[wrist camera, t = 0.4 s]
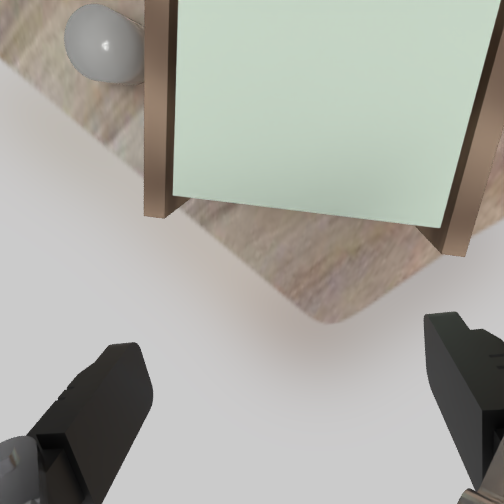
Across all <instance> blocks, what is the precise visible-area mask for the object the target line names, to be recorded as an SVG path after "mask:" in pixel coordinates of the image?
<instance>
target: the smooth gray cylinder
mask: <svg viewBox="0 0 504 504" xmlns="http://www.w3.org/2000/svg"><path fill="white" fill-rule="evenodd" d="M144 38H145V28H144V27H143V26H142V25H140V24H139V23H137V22H135V21H133V20H131V19H129V18H127V17H125V16H123V15H121V14H119V13H117V12H116V11H114V10H112V9H110V8H108V7H106V6H103V5H99V4H89V5H85V6H82V7H80V8H79V9H77V10H76V11H75V12H74V13H73V14H72V15H71V17H70V18H69V20H68V22H67V25H66V29H65V35H64V41H65V48H66V52H67V55H68V57H69V59H70V61H71V63H72V64H73V66H74V67H75V68H76V69H77V70H78V71H79V72H80V73H81V74H82V75H84V76H85V77H87V78H89V79H92V80H95V81H101V82H109V83H116V84H123V85H137V84H140V83H143V82H144Z"/></svg>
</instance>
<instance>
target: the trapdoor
mask: <svg viewBox="0 0 504 504" xmlns="http://www.w3.org/2000/svg"><path fill="white" fill-rule="evenodd" d="M500 2H501V0H178V31H177V66H176V101H175V136H174V171H173V196H181V197H189V198H198V199H206V200H214V201H222V202H230V203H238V204H246V205H255V206H263V207H271V208H279V209H287V210H295V211H303V212H312V213H320V214H328V215H336V216H344V217H352V218H360V219H369V220H377V221H385V222H393V223H401V224H409V225H417V226H425V227H434V228H440V227H441V223H442V220H443V216H444V212H445V208H446V205H447V201H448V197H449V193H450V189H451V186H452V182H453V178H454V174H455V171H456V167H457V163H458V159H459V156H460V152H461V148H462V144H463V141H464V137H465V133H466V129H467V126H468V122H469V118H470V114H471V111H472V107H473V103H474V99H475V96H476V92H477V88H478V84H479V81H480V77H481V73H482V69H483V65H484V62H485V58H486V54H487V50H488V47H489V43H490V39H491V35H492V32H493V28H494V24H495V20H496V17H497V13H498V9H499V5H500Z"/></svg>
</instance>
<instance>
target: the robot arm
mask: <svg viewBox="0 0 504 504" xmlns="http://www.w3.org/2000/svg"><path fill="white" fill-rule="evenodd" d="M424 336H425V355H426V369H427V375H428V380H429V384H430V387H431V390H432V393H433V395H434V397H435V399H436V401H437V404H438V406H439V408H440V411H441V413H442V415H443V418H444V420H445V422H446V425H447V427H448V429H449V431H450V434H451V436H452V438H453V441H454V443H455V445H456V447H457V450H458V452H459V454H460V456H461V459H462V461H463V463H464V466H465V468H466V470H467V473H468V475H469V477H470V479H471V482H472V484H473V486H474V489H475V491H474V490H472V489H467V490H465V491H464V493H463V494H462V496H461V498H460V499H459V501H458V503H457V504H504V342H503V341H502V340H501V339H499V338H498V337H496V336H494V335H493V334H491V333H489V332H487V331H486V330H484V329H476V330H470V329H469V328H468V327H467V325H466V324H465V322H464V321H463V320H462V318H461V317H460V316H459V314H458V313H457V312H445V313H435V314H426V315H425V316H424ZM152 402H153V388H152V384H151V381H150V377H149V374H148V371H147V368H146V365H145V362H144V358H143V355H142V352H141V349H140V347H139V345H138V344H137V343H135V342H132V343H122V344H112V345H109V346H108V347H107V348H106V349H105V350H104V352H103V353H102V354H101V355H100V356H99V358H98V359H97V360H96V361H95V363H93V364H91V365H90V366H89V367H87V368H86V369H85V370H83V371H82V372H81V373H79V374H78V375H77V376H76V377H75V378H74V380H73V381H72V382H71V383H70V384H69V385H68V387H67V390H64V391H63V393H62V394H61V395H60V396H59V397H58V400H57V401H55V402H54V403H53V404H52V406H51V407H50V408H49V409H48V410H47V411H46V413H45V414H44V415H43V416H42V417H41V418H40V420H39V421H38V422H37V423H36V424H35V426H34V427H33V428H32V429H31V430H30V431H29V433H28V434H27V435H26V436H18V437H14V438H11V439H8V440H6V441H3V442H1V443H0V504H102V502H103V500H104V498H105V497H106V495H107V492H108V491H109V489H110V487H111V485H112V483H113V481H114V479H115V477H116V475H117V473H118V471H119V469H120V467H121V465H122V463H123V461H124V459H125V457H126V456H127V454H128V452H129V450H130V448H131V445H132V444H133V441H134V440H135V438H136V436H137V434H138V432H139V430H140V428H141V426H142V424H143V422H144V420H145V418H146V417H147V415H148V413H149V411H150V409H151V406H152Z"/></svg>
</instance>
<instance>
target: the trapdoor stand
mask: <svg viewBox="0 0 504 504" xmlns="http://www.w3.org/2000/svg"><path fill="white" fill-rule="evenodd" d="M177 31H178V0H145V38H144V216H148V217H156V218H166V217H167V216H168V215H170V214H171V213H172V212H174V211H175V210H176V209H177V208H179V207H180V206H181V205H183V204H184V203H185V202H186V201H188V200H189V199H190V198H189V197H181V196H173V171H174V136H175V101H176V66H177ZM503 127H504V0H501V2H500V5H499V9H498V13H497V17H496V20H495V24H494V28H493V32H492V35H491V39H490V43H489V47H488V50H487V54H486V58H485V62H484V65H483V69H482V73H481V77H480V81H479V84H478V88H477V92H476V96H475V99H474V103H473V107H472V111H471V114H470V118H469V122H468V126H467V129H466V133H465V137H464V141H463V144H462V148H461V152H460V156H459V159H458V163H457V167H456V171H455V174H454V178H453V182H452V186H451V189H450V193H449V197H448V201H447V205H446V208H445V212H444V216H443V220H442V223H441V227H440V228H434V227H425V226H417V225H415V226H416V227H417V228H418V230H419V231H420V232H421V233H422V234H423V235H424V236H425V237H426V238H427V239H428V240H429V241H430V242H431V243H432V244H433V245H434V247H435V248H436V249H437V250H438V251H439V252H440V253H441V254H445V255H453V256H461V257H465V255H466V252H467V248H468V245H469V242H470V238H471V235H472V231H473V228H474V225H475V221H476V218H477V215H478V211H479V208H480V204H481V201H482V198H483V194H484V191H485V187H486V184H487V181H488V177H489V174H490V171H491V167H492V164H493V160H494V157H495V154H496V150H497V147H498V143H499V140H500V137H501V133H502V130H503Z"/></svg>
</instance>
